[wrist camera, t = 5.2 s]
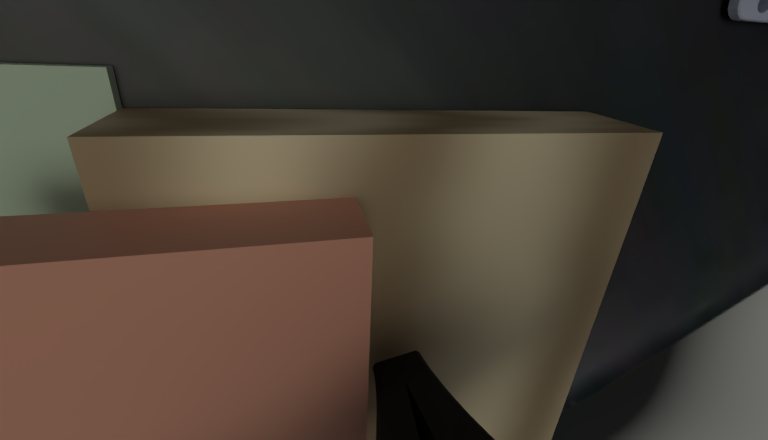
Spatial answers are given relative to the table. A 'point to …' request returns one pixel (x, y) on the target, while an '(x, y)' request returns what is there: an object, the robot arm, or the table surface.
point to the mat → (47, 132)
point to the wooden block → (421, 224)
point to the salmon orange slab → (187, 323)
